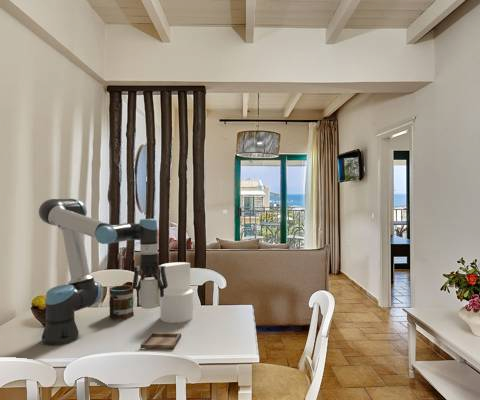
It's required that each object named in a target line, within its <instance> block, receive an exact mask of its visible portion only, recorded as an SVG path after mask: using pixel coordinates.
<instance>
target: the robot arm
mask: <svg viewBox="0 0 480 400" xmlns="http://www.w3.org/2000/svg"><path fill="white" fill-rule="evenodd" d="M87 212H88V211H87V207H86V205H85V204H84V202H83V201H82V200H79V199H76V198H50V199H48V200H45V201H43V202H42V203H41V204H40V206H39V209H38V215H39V218H40V219H41V221H42V222H44V223H46V224H47V225H51V226H54V227H57V228H58V229H59V230H60V231H62V237H63V242H64V247H65V253H66V259H67V263H68V264H67V265H68V270H69V275H70V280H69V281H68V282H67V284H62V285H57V286H54V287H52V288H49V289H48V290H47V291H46V293H45V300H44V301H45V302H44V303H45V325H44V329H43V332H42V334H41V338H40V339H41V340H40V341H41V344H42V345H44V346H49V347H50V346H61V345H62V346H63V345H66V344H70V343H73V342H74V341H75V342H76V340H78V339H79V336H80V332H79V329H78V326H77V322H76V319H75V312H77V311H81V310H83V309H85V308H90V307H92V306H94V305H96V304H97V303H98V302H99V301H100V299H101V296H102V288H101V285H100V284H99V282H98V281H96V280H95V278H94V276H92V275H91V274H90V269H89V263H88V259H87V253H86V248H85V241H84V236H83V235H86V236H89V237H92V238H95V239H96V241H97V242H98V243H99V244H101V245H110V244H114V243H120V242H121V243H122V242H125V241H139V244H140V245H139V246H140V265H136V266H134V267H133V270H134V271H133V272H134V274H133V281H132V285H131V286H132V288H133V290H135V291H136V297H137V298H138V305H139V306H141V282H140V280H143V279H145V278H146V276H147V275H150V276H151V275H152V277H154V278H155V280H158V286H159V290H158V302H159V305H161V304H162V297H163V296H164V289H165V288H167V287H168V284H167V279H166V274H165V266H160V265H161V264H159V254H158V252H159V251H158V250H159V248H158V247H159V245H158V223H157V220H156V219H155V218H141V219H139V223H128V222H126V223H120V224H110V223H107V222H104V221H101V220H100V219H99V220H98V219H96V218H92V217H89V216H87V214H88V213H87ZM140 270H141V271H142V273H141V275H140ZM158 270H159V272H160V271H161V276H162V281H163V284H162V282H161V280H160V274H159V273H158ZM139 276H141V277H140V278H139Z"/></svg>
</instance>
